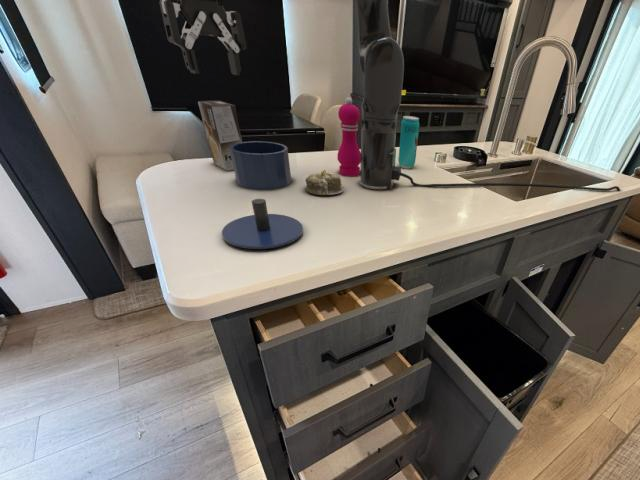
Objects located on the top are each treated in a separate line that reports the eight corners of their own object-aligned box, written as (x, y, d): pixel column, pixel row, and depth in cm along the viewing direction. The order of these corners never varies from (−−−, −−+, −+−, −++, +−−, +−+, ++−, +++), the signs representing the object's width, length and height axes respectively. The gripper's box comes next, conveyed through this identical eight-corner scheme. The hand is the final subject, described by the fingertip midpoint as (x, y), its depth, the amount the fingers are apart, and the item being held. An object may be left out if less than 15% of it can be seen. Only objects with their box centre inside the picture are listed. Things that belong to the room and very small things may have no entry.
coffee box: (248, 168, 95) (236, 105, 85) (226, 171, 91) (211, 105, 81) (233, 160, 99) (220, 100, 90) (212, 163, 95) (196, 100, 86)
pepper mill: (359, 177, 97) (360, 100, 85) (335, 175, 96) (333, 97, 84) (362, 170, 102) (363, 97, 90) (339, 168, 102) (338, 94, 90)
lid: (313, 224, 68) (311, 193, 65) (285, 257, 57) (279, 222, 53) (247, 214, 69) (241, 184, 65) (206, 245, 58) (195, 210, 54)
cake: (298, 194, 83) (294, 172, 80) (318, 184, 91) (316, 164, 87) (332, 198, 80) (329, 176, 77) (350, 188, 88) (349, 167, 85)
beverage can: (414, 170, 108) (420, 119, 99) (397, 168, 108) (401, 117, 99) (414, 165, 113) (419, 117, 104) (398, 163, 113) (402, 115, 104)
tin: (298, 177, 92) (295, 145, 87) (278, 192, 81) (273, 157, 76) (253, 171, 93) (247, 139, 88) (226, 185, 82) (218, 150, 77)
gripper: (157, -52, 50) (189, 75, 59) (242, -30, 59) (258, 77, 69) (136, -49, 53) (170, 71, 63) (220, -29, 62) (238, 73, 72)
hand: (216, 74), depth 66 cm, fingers open, 8 cm apart
